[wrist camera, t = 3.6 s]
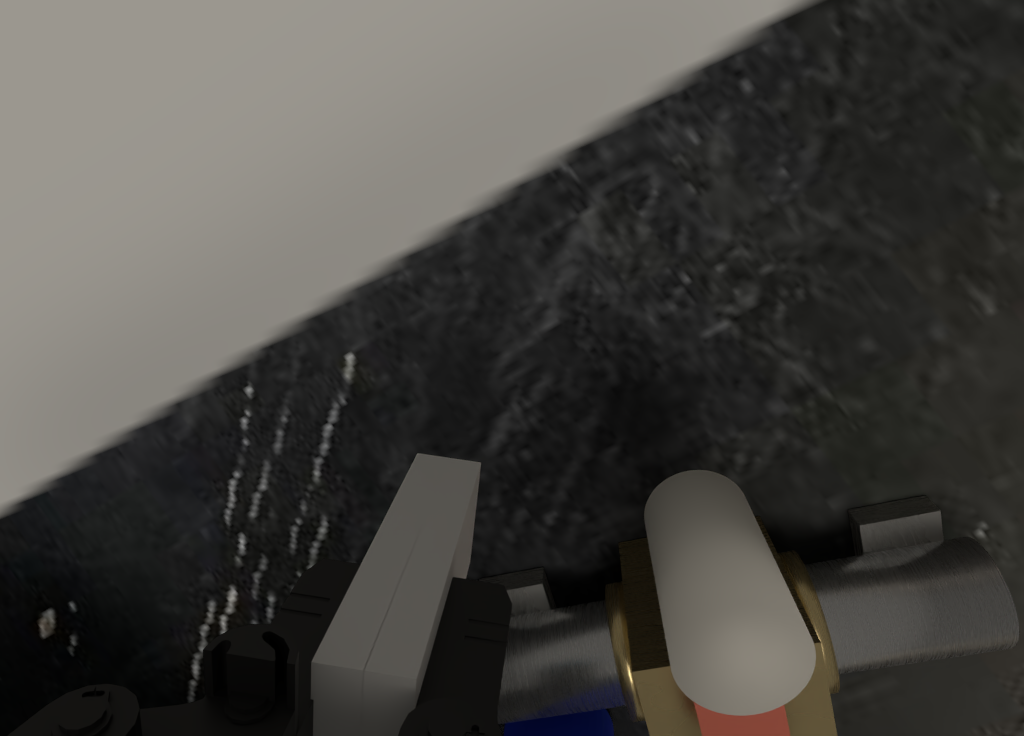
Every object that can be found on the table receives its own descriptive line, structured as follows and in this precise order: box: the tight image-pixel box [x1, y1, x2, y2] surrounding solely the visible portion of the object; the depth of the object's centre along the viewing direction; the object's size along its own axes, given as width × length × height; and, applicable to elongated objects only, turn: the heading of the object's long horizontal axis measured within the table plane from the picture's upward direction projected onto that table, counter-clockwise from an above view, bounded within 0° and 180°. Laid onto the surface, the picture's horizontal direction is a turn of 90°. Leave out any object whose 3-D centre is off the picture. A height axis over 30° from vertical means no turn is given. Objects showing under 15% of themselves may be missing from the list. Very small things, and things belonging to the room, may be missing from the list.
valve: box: [479, 495, 1019, 736], centre depth 25 cm, size 20×6×9 cm, turn 106°
